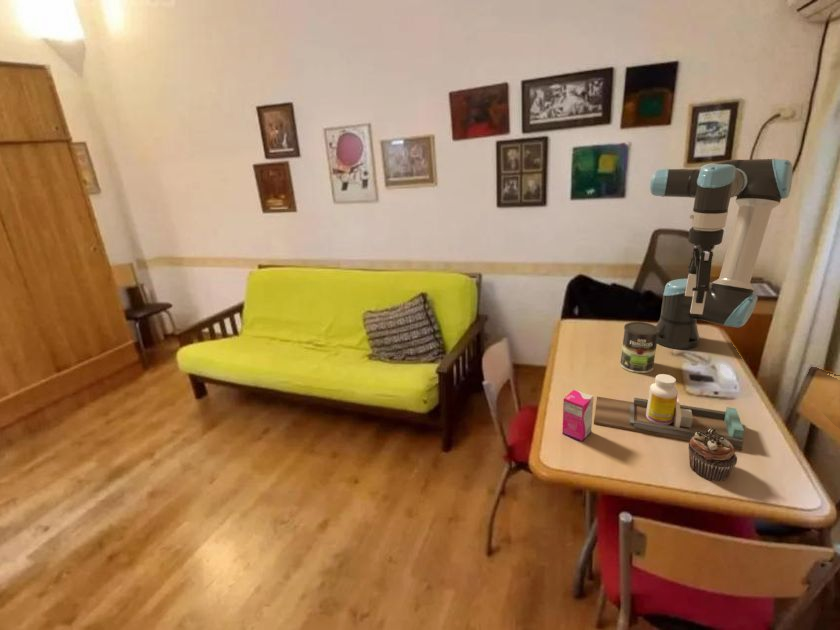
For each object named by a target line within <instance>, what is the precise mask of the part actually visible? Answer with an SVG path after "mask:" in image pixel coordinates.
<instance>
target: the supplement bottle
mask: <svg viewBox="0 0 840 630" xmlns="http://www.w3.org/2000/svg"><path fill="white" fill-rule="evenodd" d="M654 381H655V382H654V383H652V384H651V385H650V386H649V392H648V397H647V398H648V399H647V400H648V404H647V410H646V417H647V419H648V420H649V421H651V422H652V423H656V424H661V425H669V424H671V423H672V422H673V419H674V413H675V407H676V402H677V397H679V396H678V394H679V390H678V389H677V387H676V384H677V382H676V381H677V379H676V378H675V377H674V376H672V375H670V374H665V373H659V374H657V375H656V376H655V379H654Z"/></svg>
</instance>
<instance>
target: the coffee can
mask: <svg viewBox="0 0 840 630" xmlns="http://www.w3.org/2000/svg"><path fill="white" fill-rule="evenodd" d="M623 329H624V330H623V338H622V339H623V340H622V346H621V347H622V348H621V354H620V361H619V365H620V367H622V369H624V370H626V371H627V372H630V373H634V374H635V373H637V374H647V373H650V372H652V371H653V370H654V363H655V358H656V352H657V351H656V350H657V344H658V343H657V340H658V334H659V328H658V327H656V325H655V324H652V323H648V322H643V321H642V322H641V321H632V322H627V323H625V324H624V327H623Z"/></svg>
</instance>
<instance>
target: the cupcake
mask: <svg viewBox="0 0 840 630" xmlns="http://www.w3.org/2000/svg"><path fill="white" fill-rule="evenodd" d="M715 430H716V429H714V428H712V429H709V430H708V431H705V433H703V432H700V431H697V432H696V433H695V436H693V437H692V438H691V440H690V441H688V442H689V443H688V458H689V459H688V460H689V467H690V468H691V471H693V472H694V473H695V474H696V475H697V476H699V477H701V478H704V479H705V480H707V481H714V482H723V481H726V480H727V479H728V478H729V477H730V475H731V473H732V471H733V469H734V468H736V465H737V464H738V456H737V454H735V453H736V450H735V448H734V447H733V445H732V444H731V443H730V442H729V441H727V440H726V439H725V438H724V437H723V436H722V435H720V434H718V433H717V432H716V431H715ZM717 435H719V436H717Z"/></svg>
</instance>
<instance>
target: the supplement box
mask: <svg viewBox="0 0 840 630" xmlns="http://www.w3.org/2000/svg"><path fill="white" fill-rule="evenodd" d="M562 405H563V407H562V411H563V412H562V430H561V431H562V434H563V435H565V436H567V437H569V438H571V439H574V440H576V441H579V442H581V443H582V442H584V440H585V439H586V438H587V437H588V436H589V435H590V434H591V433H592V427H593V425H592V423H593V412H594V411H593V409H594V395H591V394H588V393H585V392H582V391H579V390H576V389H573V390H571V391H570V392H569V393H568V394H567V395H566V396H565V397H564V398H563V404H562Z"/></svg>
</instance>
